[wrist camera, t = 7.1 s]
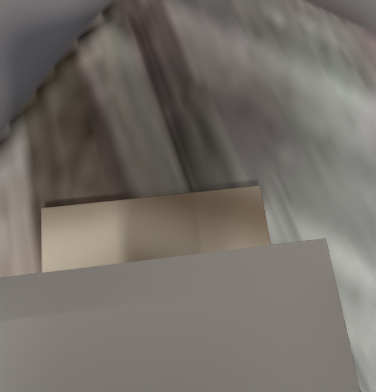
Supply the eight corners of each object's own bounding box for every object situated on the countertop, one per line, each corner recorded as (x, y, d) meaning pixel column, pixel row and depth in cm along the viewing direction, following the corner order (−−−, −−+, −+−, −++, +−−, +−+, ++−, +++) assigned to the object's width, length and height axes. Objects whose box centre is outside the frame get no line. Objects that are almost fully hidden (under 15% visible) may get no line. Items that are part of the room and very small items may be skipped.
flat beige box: (300, 423, 17) (356, 491, 12) (47, 467, 16) (-12, 564, 11) (258, 187, 20) (287, 160, 15) (44, 209, 19) (-3, 188, 14)
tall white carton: (225, 372, 14) (456, 817, 3) (113, 389, 14) (-179, 1011, 2) (210, 259, 16) (325, 238, 4) (106, 272, 15) (-106, 289, 4)
